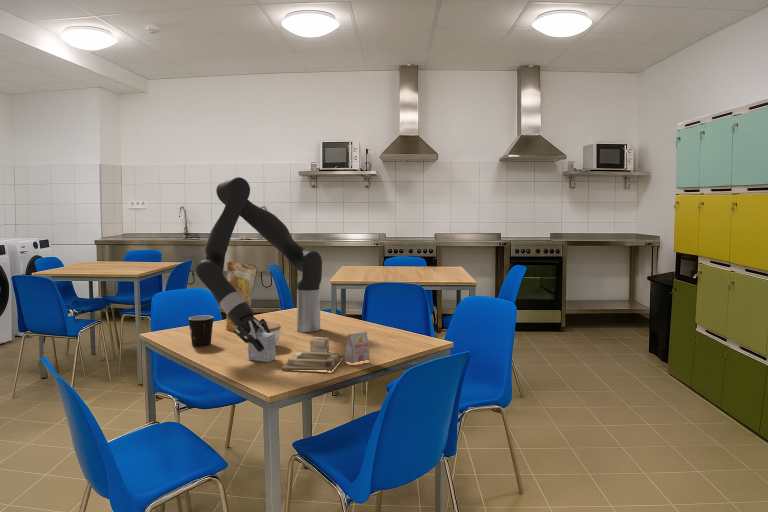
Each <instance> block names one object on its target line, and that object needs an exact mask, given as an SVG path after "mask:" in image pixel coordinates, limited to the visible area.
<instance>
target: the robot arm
mask: <svg viewBox="0 0 768 512" xmlns="http://www.w3.org/2000/svg"><path fill="white" fill-rule="evenodd" d="M250 194H251V187H250V183H249V182H248V181H247V180H246V178H243V177H239V176H237V177H231V178H228V179H225V180H224V181H221V182H220V183H218V184H217V187H216V196H217V197H218V200H220V201H221V203H222V204H223V205H224V209H222V213H220V215H219V218H218V219H217V220H216V222H215V223H214V226H212V229H211V231H210V233H209V236H208V239H207V242H206V245H205V250H204V251H205V255H206V258H205V259H203V260H201V261H199V262H198V263H197V265H196V268H195V272H196V276H197V277H198V278H199V280H200V282H202V283H203V284H204V285H205V287H207V289H208V290H209V291H210V293H211V295H212V296H213V297H214V299H215V300H216V302H217V303H218V304H219V305H220V307H221V310H223V312H224V313H225V316H226V317H227V316H228V317H229V319H230V320H231V321H232V323H233V324H234V325H235V326H238V327H237V328H236V329H235V330H234V332H233V333H234V334H235V335H236V336H237V337H239V338H240V339H241V340H242V341H243V343H245V344H248V342H249V343H251V344H253V345H254V347H255V348H256V349H257V350H258V351H259V352H261V351H262V350H263V349H264V346H263V345H262V344H261V342H260V341H259V340H258V339H257V337H256V335H255V332H257V331H258V330H259V329H260V330H259V331H258V332H264V333H270V330H269V328H268V326H267V324H266V322H265V321H266V320H265V319H264V318H261V319H260V320H259V319H257V318H256V317H255V316H254V315H255V314H254V313H255V312H254V310H253V308H251V305H250V306H249V305H248V304H247V302H246V301H245V300H244V298H243V297H242V296H241V295H240V294H239V293H238V292H237V291H236V289H235V288H234V287H233V285H232V284H231V283H230V282H229V281H228V280H227V278H226V277H225V275H224V274H223V273H224V268H225V259H226V254H227V251H228V248H229V245H230V243H231V242H230V241H231V238H232V236H233V232H234V230H235V226H236V224H237V223H238V220H239V218H240V217H241V218H242V220H244V221H245V222H246V223H247V224H248V225H250V227H252V228H253V229H254V230H255V231H256V232H257V233H258V234H259V235H260V236H261V237H262V238H264V239H265V240H266V241H267V242H268V243H270V244H271V245H272V246H273V247H274V248H275V249H276V250H278V251H279V252H280V253H281V254H282V255H283V256H284V257H285V258H286V259H287V260H288V262H290V264H291V265H292V266H293V267H294V268H295V269H296V270H297V271H298V272H299V271H300V272H301V273H302V274H301V275H302V276H301V279H300V280H299V281H297V283H296V331H297V332H301V333H313V332H314V331H315V332H318V331H320V329H321V306H320V286H321V282H322V276H323V275H322V273H323V259H322V256H321V254H320V253H319V252H318V251H316V250H307V249H305V248H303V247H302V246H301V245H299V244H298V243H297V242H296V241H295V240H294V239H293V237H292V234H291V232H290V230H289V229H288V227H287V226H286V224H284V223H283V222H282V220H280V218H278V216H276V215H275V214H273V213H272V212H271V211H269V210H266V209H265V208H262V207H260V206H258V205H256V204H254V203H253V202H252V201H250V200H249V197H250ZM265 329H266V331H265ZM251 336H252V337H251Z"/></svg>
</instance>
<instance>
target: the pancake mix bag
mask: <svg viewBox="0 0 768 512" xmlns="http://www.w3.org/2000/svg"><path fill="white" fill-rule="evenodd" d="M257 267H258V266H256V265H255V264H251V263H243V262H237V261H228V262H226V271H227V272H226V277H227V278H226V279H227V280H228V281H229V282H230V283H231V284H232V285H233V287H234V288H235V289H236V291H237V292H238V293H239V294H240V295H241V296H242V297H243V298H244V300H245V301H246V302H247V304H248V305H249V306H250V307H251V304H252V300H253V299H252V297H253V293H254V287H255V281H256V277H257V273H258V268H257ZM237 327H238V326H235V325H234V324H233V323H232V321H231V320H230V319H229V317H228V316H227V315H226V325H225V329H226V330H227V331H229V332H232V333H234V330H235V329H236V328H237Z"/></svg>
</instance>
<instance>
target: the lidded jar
mask: <svg viewBox="0 0 768 512" xmlns="http://www.w3.org/2000/svg"><path fill="white" fill-rule="evenodd" d="M265 322H266V324H267V326H268V328H269V330H270V333H272V334H275V345H277V344H278V342H279V340H280V336H281V327H282V326H281V324H280V323H276V322H268V321H267V320H265ZM259 330H260V329H259ZM259 330H258V331H259ZM258 331H257V332H258ZM265 331H266V329H265Z"/></svg>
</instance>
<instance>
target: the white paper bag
mask: <svg viewBox="0 0 768 512" xmlns="http://www.w3.org/2000/svg"><path fill="white" fill-rule="evenodd" d="M365 360H369V361H370V341H369V338H368V332H367V331H359V332H354V333H348V335H347V340H346V343H345V362H346V361H347V362H350V363H355V362H360V361H365Z"/></svg>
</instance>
